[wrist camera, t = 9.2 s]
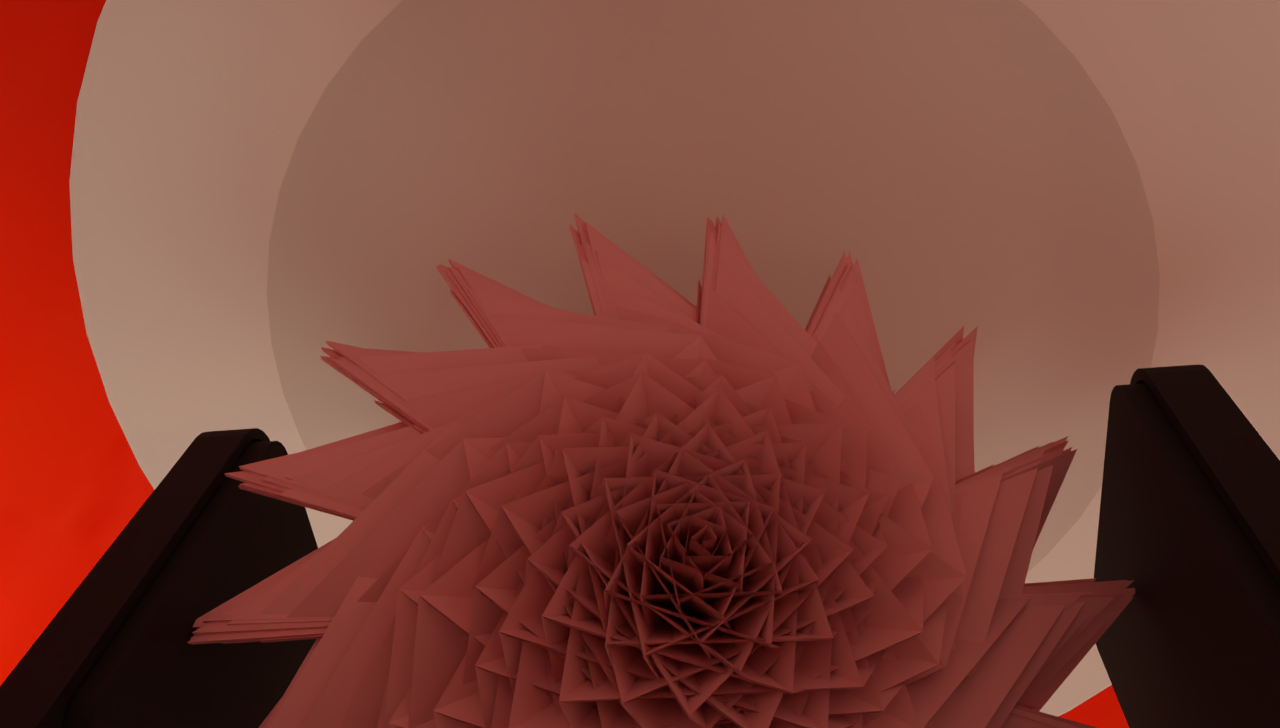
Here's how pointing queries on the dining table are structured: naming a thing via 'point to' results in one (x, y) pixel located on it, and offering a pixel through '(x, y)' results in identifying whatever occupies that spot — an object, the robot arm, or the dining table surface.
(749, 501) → the flower
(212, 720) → the robot arm
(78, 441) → the dining table surface
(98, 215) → the plate
